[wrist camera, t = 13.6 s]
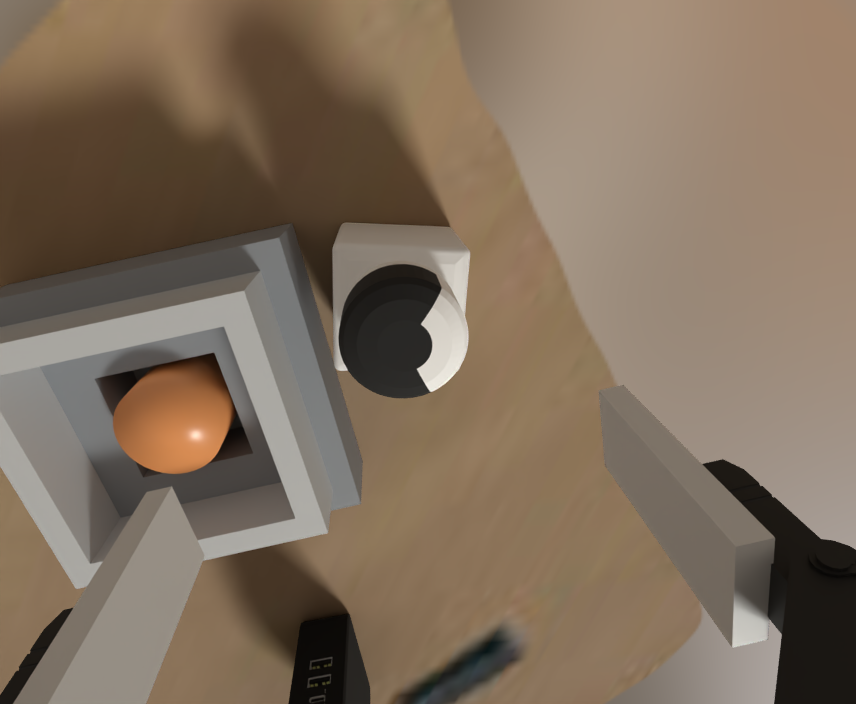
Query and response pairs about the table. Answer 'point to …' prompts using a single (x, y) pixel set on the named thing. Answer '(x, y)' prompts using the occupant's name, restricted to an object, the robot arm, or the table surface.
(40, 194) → the table surface
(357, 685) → the electronic device
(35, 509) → the grey open box
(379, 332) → the medicine bottle
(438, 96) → the table surface
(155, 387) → the button
